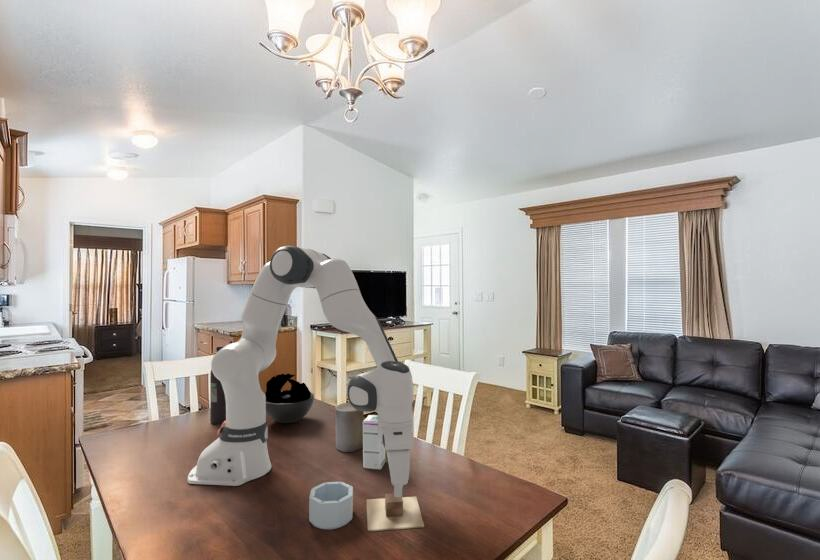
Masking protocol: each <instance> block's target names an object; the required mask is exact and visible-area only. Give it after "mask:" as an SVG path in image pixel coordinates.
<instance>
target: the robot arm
mask: <svg viewBox="0 0 820 560" xmlns="http://www.w3.org/2000/svg"><path fill="white" fill-rule="evenodd" d="M298 287H299V288H306V289H308V288H309V289H316V291H317V293H318V298H319V300H320V301H319V302H320V304H321V308H322V311H323V314H324V316H325V318H326V319H325V320H327V323H329V325H331V326H333V327H334V328H335V329H338V330H340V331H343V332H347V333H350V334H353V335H355V336H356V337H359V338H360V339H362V340H363V342H365V344H366V346H367V348H368V350H369V352H370V354H371V356H372V359H373V361H374V363H375V365H376V367H375V368H373V369H370V370H368V371H365V372H361V373H358V374H356V375H354V376H352V377H351V378H350V380H349V382H348V384H347V390H346V391H347V393H346V394H347V400H348V403H350V404H351V405H352V406H353V407H354V408H355V409H356V410H358V411H361V412H364V413H368V412H375V413H377V414H376V415H378V438H379V439H380V440H381V442H382V443H383V445H384V448H385V450H386V457H387V462H388V469H389V475H390V480H391V481H390V482H391V485H392V486H393V493H394V495H395V497H403V487H404V486H405V485H407V484H408V482H409V480H410V479H409V478H410V466H411V463H410V462H411V450H412V449H413V448H414V445H413V444H414V442H413V441H414V436H415V435H414V433H415V432H414V431H415V429H414V421H415V420H414V418H415V417H414V412H413V402H414V383H413V375H412V371H411V369H410V367H409V366H408V365H406V364H405V363H403V362H400V361H399V360H398V359H397V358H398V357H397V356H396V353H395V352H394V350H393V347H392V345H391V342H390V341H389V338H388V336H387V334H386V332H385V330H384V327H383V326H382V324H381V322H380V320H379V319H378V317H377V316H376V315H375V314H374V313H373V312H372V311H371V310H370V309H369V307H368V305H367V304H366V302H365V300H364V298H363V296H362V292H361V290H360V287H359V285H358V281H357V280H356V278H355V275H354V273H353V271H352V269H351V268H350V266H349V263H347V261H345V260H343V259H340V258H331V257H330V256H328V255H326V253H321V252H318V251H316V250H314V249H310V248H303V247H299V246H296V245H285V246H280V247H278V248H277V249H276V250H274V252H273V253H272V255H271V257H270V260H269V261H268V262H266V263H265V264H264V265H263V266H262V268H261V270H260V271H259V273H258V275H257V277H256V278H255V281H254V283H253V285H252V287H251V289H250V291H249V292H250V293H249V295H248V297H247V300H246V303H245V305H244V309H243V311H242V314H241V321H242V324H243V326H242V333H241V337H240V338H239V340H238V341H235V342H231V343H228V344H226V345H225V346H224V347H223V348H222V349H221V350H219V351H218V352H217V351H216V353H215V354H214V355H213V357H212V360H211V362H210V363H211V365H210V367H211V368H210V369H212V372H213V374H214V376H215V377H216V378H217V379H218V380H220V382H221V384H222V387H223V390H224V394H225V399H226V421H224V422H223V423H222V424H220V425H221V426H220V427H219V428H218V430H217V436H219V437H217V439H215V440H214V441H213V442H211V443H210V444H209V445H208V446H207V447H205V448H204V450H202V452H201V453H200V455H199V456H198V460H197V463H196V465H195V466H193V468H192V469H191V470H190V472H189V473H188V475H187V484H193V485H208V486H212V485H213V486H232V487H236V486H241V485H244V484H245V483H247V482H249V481H252V480H256V479H259V478H261V477H264V476H265V475H266V474H267V473H269V472H270V471H271V469H272V463H271V461H270V460H271V459H270V456H269V451H268V442H267V440H268V437H269V435H268V434H269V426H268V420H267V414H266V395H265V393H266V392H264V391H263V390H262V387H261V385H260V380H259V378H260V377H259V376H260V375H259V374H260V373H261V372H263V371H265V370H266V369H268V367H270V366H271V364H272V363H273V362H274V361H275V359H276V357H277V347H276V345H277V339H278V333H279V328H280V326H281V322H282V321H283V316H284V315H285V312H286V309H287V306H288V303H289V302H290V298H291V295H292V293H293V291H294V290H295V289H296V288H298Z"/></svg>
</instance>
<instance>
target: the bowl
mask: <svg viewBox="0 0 820 560" xmlns="http://www.w3.org/2000/svg"><path fill="white" fill-rule="evenodd" d="M308 499H309V500H308V511H309V512H308V514H309V515H308V519H309V520H308V521H309V522H310V523H311V525H312V526H313V527H315V528H318V529H320V530H334V529H335V530H336V529H340V528H342V527H344V526H346V525H348V524H349V523H350V522H351V521H352V519H353V512H354V510H353V509H354V487H353V486H352V485H350V484H349V483H345V482H344V481H328V482H327V481H326V482H325V481H324V482H322V483H320V484H319V485H316V486H314V487H312V488H311V490H310V493H309V498H308Z"/></svg>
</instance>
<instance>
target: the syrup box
mask: <svg viewBox="0 0 820 560" xmlns="http://www.w3.org/2000/svg"><path fill="white" fill-rule="evenodd" d="M386 457H387V451H386V450H385V448H384V445H383V443H382V442H381V440H380V439H379V438H378V414H368V415H367V417H366V418H364V421H363V448H362V467H363V469H370V470H382V468H383V466H384V465H385V463H386V461H387V460H386V459H387V458H386Z"/></svg>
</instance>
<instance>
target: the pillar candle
mask: <svg viewBox="0 0 820 560" xmlns="http://www.w3.org/2000/svg"><path fill="white" fill-rule="evenodd" d="M334 408H335V411H334V412H335V413H334V414H335V449H337V450H338V451H340V452H343V453H344V452H345V453H351V452H357V451H359V450H363V421H364V420H365V418H364V417H365V415H364V413H365V412H361V411H358V410H356V409H355V408H354V407H353V406H352V405H351V404H350V402H344V403H340V404H337V405H336V406H335V407H334Z"/></svg>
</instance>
